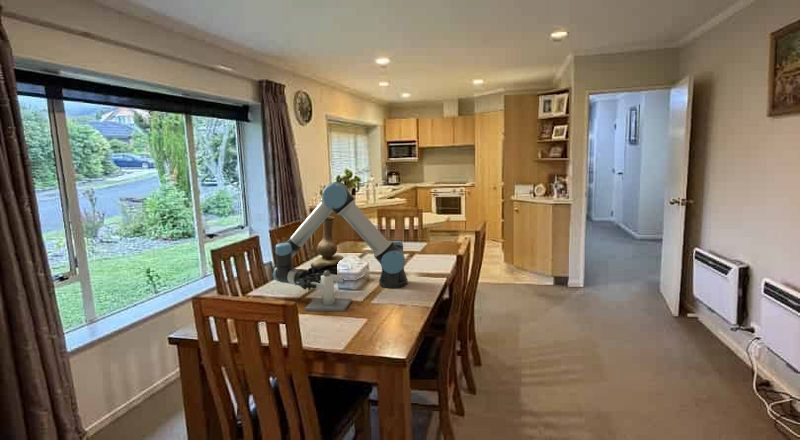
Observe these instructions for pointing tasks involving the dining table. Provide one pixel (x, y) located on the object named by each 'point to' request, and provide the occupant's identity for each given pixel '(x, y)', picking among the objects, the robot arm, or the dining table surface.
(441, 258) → the dining table surface
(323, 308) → the slate board
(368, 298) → the dining table surface
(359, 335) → the dining table surface
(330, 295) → the white bottle
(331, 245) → the vase
